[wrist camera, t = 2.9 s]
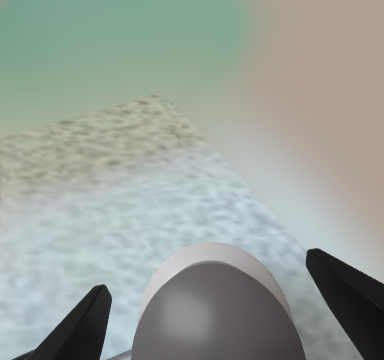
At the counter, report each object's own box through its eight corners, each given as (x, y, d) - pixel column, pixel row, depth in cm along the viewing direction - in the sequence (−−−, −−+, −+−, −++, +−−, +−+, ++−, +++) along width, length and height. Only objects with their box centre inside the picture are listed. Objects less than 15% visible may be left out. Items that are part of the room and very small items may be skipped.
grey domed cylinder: (253, 302, 13) (409, 484, 3) (191, 328, 13) (129, 624, 3) (226, 238, 15) (265, 211, 5) (171, 259, 15) (88, 279, 4)
